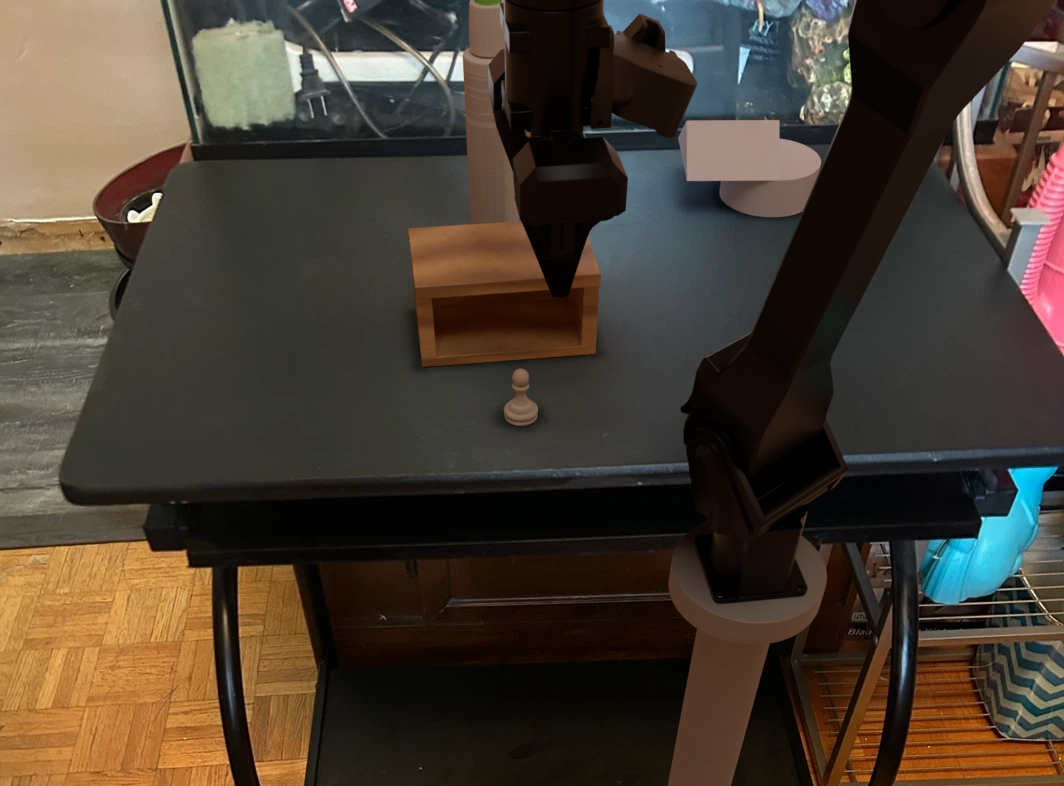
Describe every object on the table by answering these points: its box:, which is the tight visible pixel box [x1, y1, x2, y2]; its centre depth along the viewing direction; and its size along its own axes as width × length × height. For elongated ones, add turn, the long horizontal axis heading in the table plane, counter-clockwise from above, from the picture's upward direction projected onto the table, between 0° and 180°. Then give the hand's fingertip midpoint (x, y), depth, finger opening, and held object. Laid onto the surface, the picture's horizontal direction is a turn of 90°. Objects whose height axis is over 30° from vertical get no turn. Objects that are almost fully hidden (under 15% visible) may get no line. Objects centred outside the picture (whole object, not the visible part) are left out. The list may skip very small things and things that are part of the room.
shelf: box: [407, 220, 602, 368], centre depth 82 cm, size 9×14×7 cm, turn 97°
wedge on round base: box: [677, 119, 822, 218], centre depth 96 cm, size 9×7×13 cm
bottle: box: [462, 0, 519, 224], centre depth 86 cm, size 4×4×20 cm
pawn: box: [503, 368, 539, 427], centre depth 76 cm, size 3×3×4 cm
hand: (550, 261), depth 70 cm, fingers open, 9 cm apart
